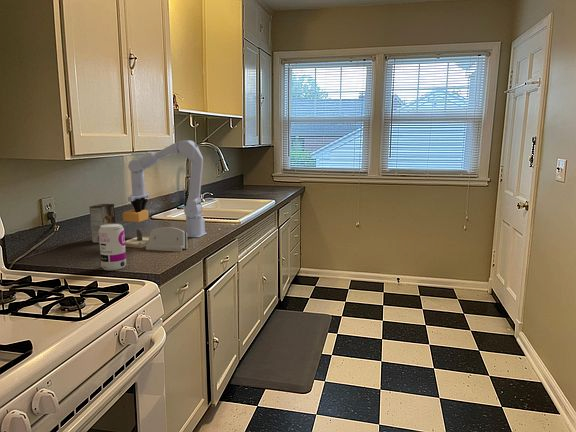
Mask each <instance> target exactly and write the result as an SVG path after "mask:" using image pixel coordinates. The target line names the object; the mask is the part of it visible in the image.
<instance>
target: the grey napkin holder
mask: <svg viewBox="0 0 576 432" xmlns="http://www.w3.org/2000/svg"><path fill="white" fill-rule="evenodd" d="M148 237H149V241H148V244H147V245H146V246H145V250H147V251H163V252H164V251H165V252H166V251H167V252H181V253H182V252H183V250H187V249H188V237H187V233H186V230H183V229H180V228H177V227H172V226H162V227H157V228H153V229H152V230H150V233H149V236H148Z"/></svg>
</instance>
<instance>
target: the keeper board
mask: <svg viewBox="0 0 576 432" xmlns="http://www.w3.org/2000/svg"><path fill="white" fill-rule="evenodd" d="M149 237H150V236H143V229H142V228H138V229H137V228H136V237H132V238H130V239H127V240H125V248H133V249H134V248H135V249H136V248H137V249H138V248H140V249H142V248H146V245H147V244H148V241H149Z"/></svg>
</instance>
